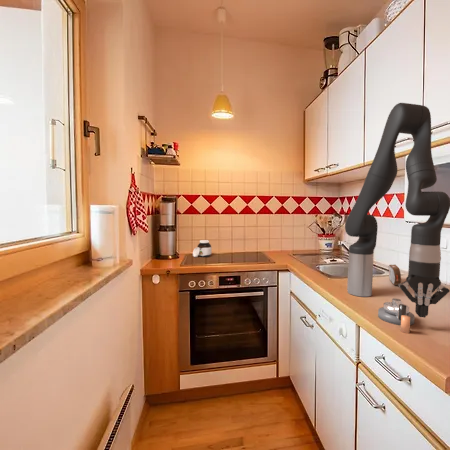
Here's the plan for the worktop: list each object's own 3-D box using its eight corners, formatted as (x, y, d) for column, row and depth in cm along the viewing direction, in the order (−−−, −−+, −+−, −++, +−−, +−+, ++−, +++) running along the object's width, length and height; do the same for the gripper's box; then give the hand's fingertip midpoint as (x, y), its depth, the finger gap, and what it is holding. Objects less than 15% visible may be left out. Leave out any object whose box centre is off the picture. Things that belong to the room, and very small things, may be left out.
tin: (401, 287, 124) (402, 269, 123) (393, 287, 125) (394, 268, 125) (394, 279, 138) (395, 263, 137) (387, 279, 139) (388, 262, 139)
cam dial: (381, 306, 94) (382, 293, 94) (405, 309, 92) (405, 295, 91) (389, 319, 83) (390, 304, 83) (416, 322, 81) (417, 307, 81)
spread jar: (213, 256, 201) (213, 240, 200) (204, 258, 192) (204, 242, 191) (199, 254, 207) (199, 239, 207) (190, 257, 198) (190, 241, 197)
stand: (371, 313, 94) (372, 300, 94) (400, 312, 95) (400, 299, 94) (401, 333, 79) (402, 318, 79) (435, 332, 80) (436, 317, 79)
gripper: (445, 258, 83) (442, 314, 84) (395, 255, 87) (392, 309, 88) (457, 263, 76) (453, 324, 77) (402, 260, 80) (399, 318, 81)
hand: (421, 316), depth 82 cm, fingers closed
